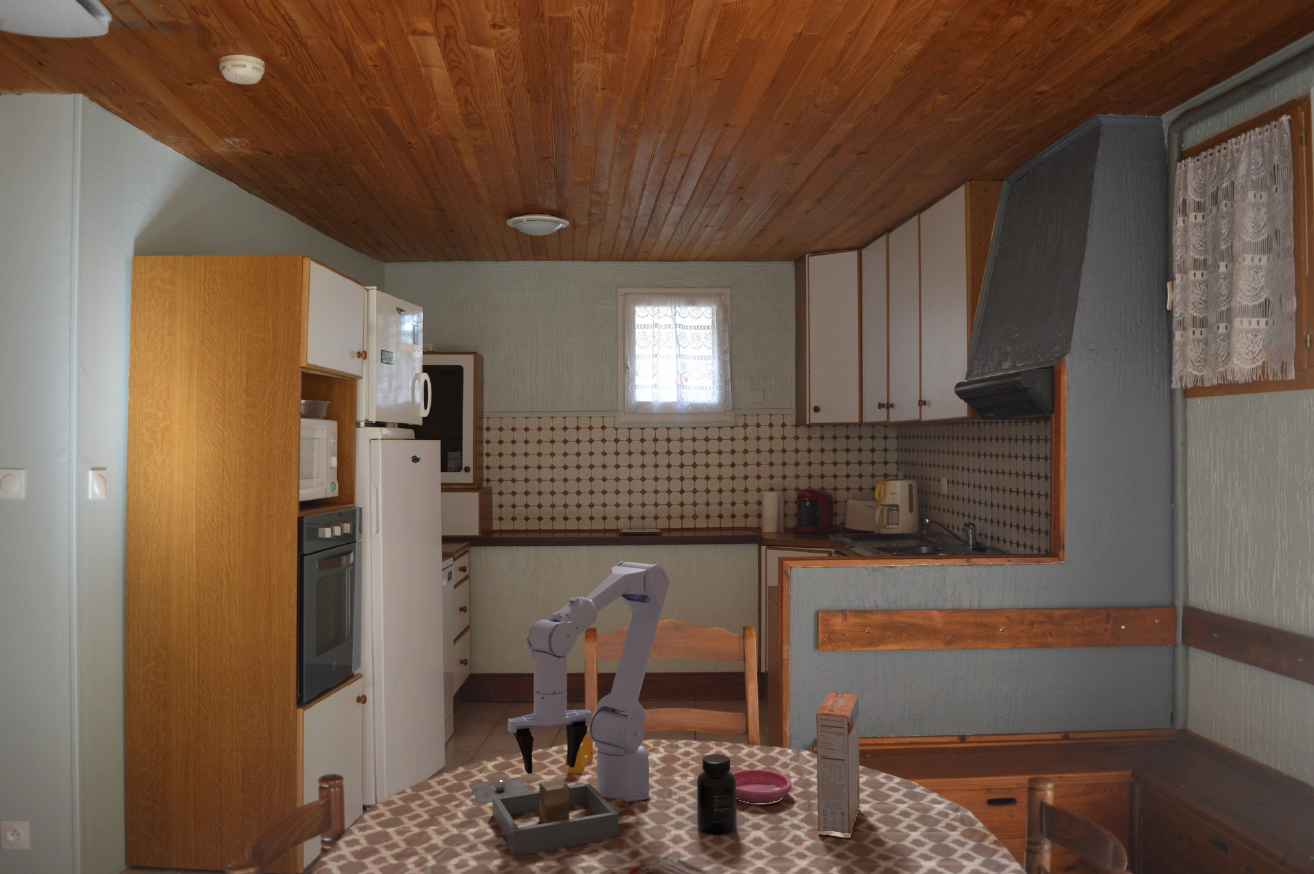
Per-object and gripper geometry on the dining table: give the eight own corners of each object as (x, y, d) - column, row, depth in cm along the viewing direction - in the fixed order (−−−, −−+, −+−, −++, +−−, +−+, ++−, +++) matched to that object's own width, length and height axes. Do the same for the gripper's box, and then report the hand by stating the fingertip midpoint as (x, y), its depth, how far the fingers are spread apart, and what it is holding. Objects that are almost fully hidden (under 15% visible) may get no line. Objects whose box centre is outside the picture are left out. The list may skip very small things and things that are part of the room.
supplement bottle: (740, 823, 155) (740, 754, 155) (731, 839, 149) (731, 767, 149) (703, 817, 157) (703, 749, 158) (691, 833, 151) (692, 762, 151)
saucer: (728, 782, 175) (728, 766, 175) (791, 786, 173) (792, 770, 173) (722, 806, 163) (722, 789, 163) (791, 811, 161) (791, 794, 161)
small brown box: (569, 827, 152) (569, 786, 152) (546, 832, 150) (547, 790, 150) (560, 818, 155) (560, 778, 156) (538, 822, 154) (538, 782, 154)
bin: (589, 804, 163) (589, 783, 163) (618, 837, 149) (618, 813, 149) (492, 820, 156) (492, 797, 156) (513, 856, 142) (513, 831, 142)
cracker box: (827, 804, 163) (827, 690, 164) (860, 809, 161) (860, 694, 162) (814, 835, 150) (814, 711, 151) (850, 840, 148) (850, 715, 149)
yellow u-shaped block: (572, 757, 189) (573, 727, 189) (592, 758, 188) (593, 727, 188) (559, 778, 177) (559, 745, 177) (580, 779, 176) (580, 746, 176)
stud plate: (519, 782, 174) (519, 767, 174) (533, 800, 165) (533, 785, 165) (468, 789, 170) (468, 774, 170) (479, 808, 161) (479, 793, 161)
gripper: (582, 680, 161) (581, 755, 160) (503, 688, 155) (503, 767, 154) (595, 689, 154) (595, 768, 154) (514, 699, 148) (513, 780, 148)
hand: (549, 768), depth 154 cm, fingers open, 7 cm apart
